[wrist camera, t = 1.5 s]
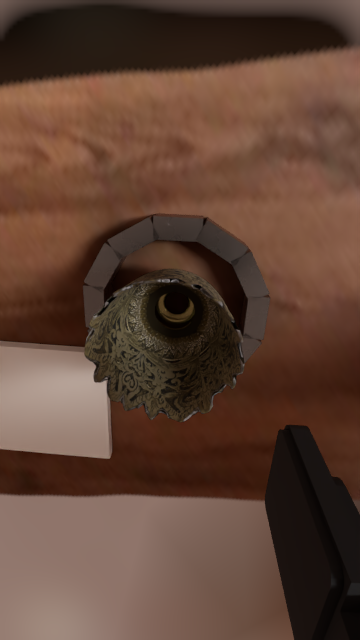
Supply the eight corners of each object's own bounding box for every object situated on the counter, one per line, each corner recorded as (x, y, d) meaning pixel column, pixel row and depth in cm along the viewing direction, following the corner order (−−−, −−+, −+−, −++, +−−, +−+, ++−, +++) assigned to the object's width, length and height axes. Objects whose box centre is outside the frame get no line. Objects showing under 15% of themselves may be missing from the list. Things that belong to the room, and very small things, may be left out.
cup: (178, 368, 24) (167, 447, 17) (102, 303, 23) (53, 358, 15) (253, 302, 22) (279, 359, 14) (174, 223, 20) (157, 244, 13)
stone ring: (274, 219, 20) (282, 223, 18) (250, 380, 24) (254, 396, 22) (89, 209, 20) (77, 211, 18) (98, 368, 25) (89, 383, 23)
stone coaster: (107, 348, 24) (104, 353, 23) (112, 451, 28) (109, 458, 27) (-22, 339, 24) (-29, 343, 24) (0, 441, 28) (-6, 448, 28)
